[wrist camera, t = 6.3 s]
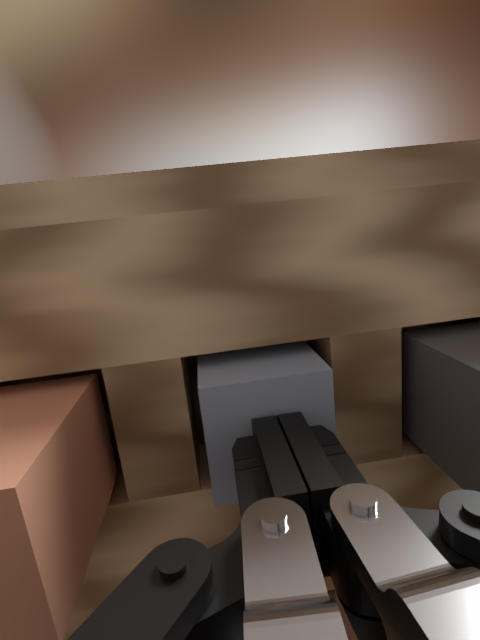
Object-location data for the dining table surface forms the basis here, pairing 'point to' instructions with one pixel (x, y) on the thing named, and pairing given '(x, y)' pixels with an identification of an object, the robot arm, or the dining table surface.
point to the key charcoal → (444, 397)
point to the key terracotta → (50, 500)
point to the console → (235, 312)
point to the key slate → (257, 399)
